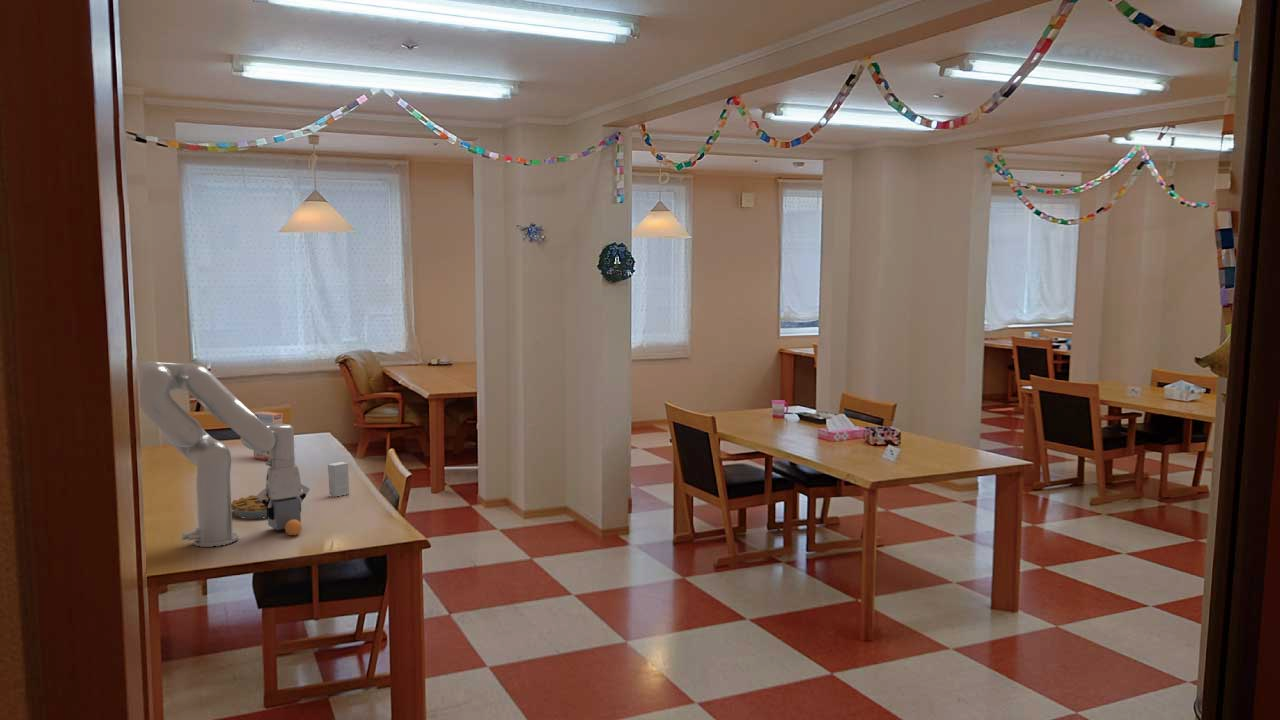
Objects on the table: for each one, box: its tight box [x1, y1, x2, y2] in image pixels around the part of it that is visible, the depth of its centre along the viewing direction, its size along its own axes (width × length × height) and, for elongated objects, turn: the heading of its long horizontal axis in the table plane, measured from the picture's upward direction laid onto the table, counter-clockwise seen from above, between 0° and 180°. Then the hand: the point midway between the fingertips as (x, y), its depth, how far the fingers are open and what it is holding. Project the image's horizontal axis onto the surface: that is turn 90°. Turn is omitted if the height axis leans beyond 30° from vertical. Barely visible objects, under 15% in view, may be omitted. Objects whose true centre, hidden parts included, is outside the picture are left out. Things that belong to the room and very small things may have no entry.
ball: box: [285, 520, 303, 536], centre depth 299 cm, size 5×5×5 cm
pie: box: [231, 494, 268, 519], centre depth 328 cm, size 22×22×5 cm
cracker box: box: [252, 410, 284, 461], centre depth 417 cm, size 14×6×21 cm, turn 58°
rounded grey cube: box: [267, 497, 302, 531], centre depth 305 cm, size 8×8×9 cm
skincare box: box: [327, 461, 350, 498], centre depth 351 cm, size 6×4×12 cm
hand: (284, 516), depth 305 cm, fingers closed on rounded grey cube, 7 cm apart
